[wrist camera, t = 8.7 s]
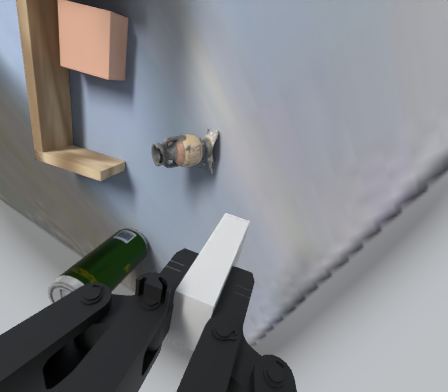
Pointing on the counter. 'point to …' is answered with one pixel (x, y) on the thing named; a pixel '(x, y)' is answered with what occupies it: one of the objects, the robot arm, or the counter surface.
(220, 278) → the robot arm
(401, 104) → the counter surface
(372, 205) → the counter surface
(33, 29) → the frame
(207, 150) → the vase
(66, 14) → the tile
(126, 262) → the beer can
